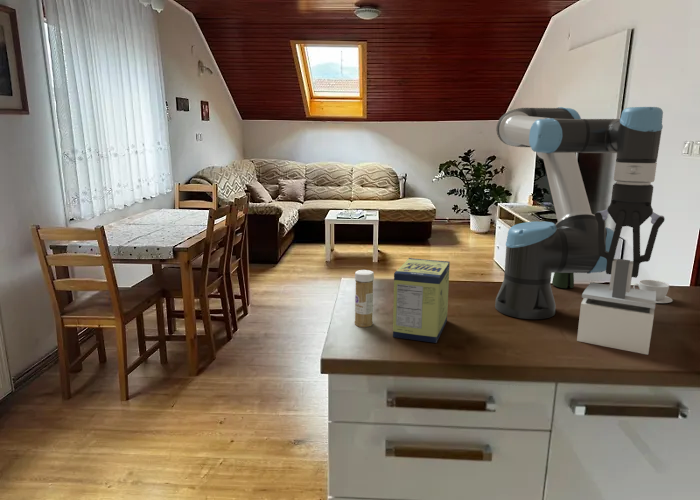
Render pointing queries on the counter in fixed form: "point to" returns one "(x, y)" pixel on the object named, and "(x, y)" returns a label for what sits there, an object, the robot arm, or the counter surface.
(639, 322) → the carton
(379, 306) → the counter surface
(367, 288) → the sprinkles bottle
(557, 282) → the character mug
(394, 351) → the counter surface
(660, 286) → the teacup
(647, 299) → the lid flap
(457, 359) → the counter surface
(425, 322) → the protein box
